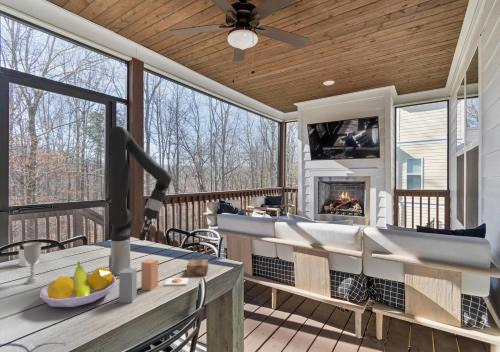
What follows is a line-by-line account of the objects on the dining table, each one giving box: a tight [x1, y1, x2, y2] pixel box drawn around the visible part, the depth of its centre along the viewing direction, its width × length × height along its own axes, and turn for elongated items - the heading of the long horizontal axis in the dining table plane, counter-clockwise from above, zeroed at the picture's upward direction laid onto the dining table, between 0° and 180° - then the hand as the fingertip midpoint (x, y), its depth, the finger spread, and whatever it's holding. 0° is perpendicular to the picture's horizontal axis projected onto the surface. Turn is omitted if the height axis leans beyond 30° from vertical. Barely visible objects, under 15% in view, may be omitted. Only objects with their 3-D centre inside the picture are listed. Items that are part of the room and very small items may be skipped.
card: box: [163, 277, 190, 287], centre depth 128 cm, size 10×7×1 cm
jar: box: [18, 240, 40, 268], centre depth 154 cm, size 9×8×12 cm
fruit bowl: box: [39, 261, 118, 308], centre depth 112 cm, size 28×27×11 cm
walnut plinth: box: [186, 258, 209, 277], centre depth 142 cm, size 10×10×5 cm
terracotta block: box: [140, 258, 159, 292], centre depth 122 cm, size 5×5×12 cm
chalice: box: [23, 241, 43, 285], centre depth 128 cm, size 7×7×18 cm
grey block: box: [118, 267, 138, 304], centre depth 110 cm, size 5×5×12 cm
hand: (141, 239), depth 137 cm, fingers open, 8 cm apart
